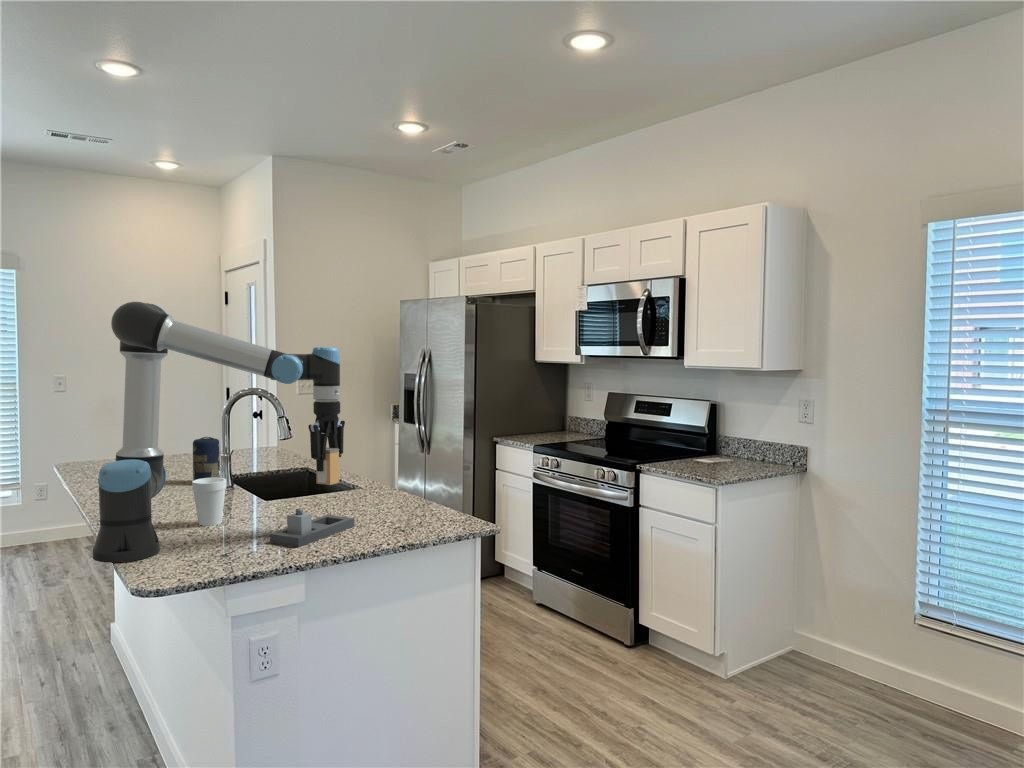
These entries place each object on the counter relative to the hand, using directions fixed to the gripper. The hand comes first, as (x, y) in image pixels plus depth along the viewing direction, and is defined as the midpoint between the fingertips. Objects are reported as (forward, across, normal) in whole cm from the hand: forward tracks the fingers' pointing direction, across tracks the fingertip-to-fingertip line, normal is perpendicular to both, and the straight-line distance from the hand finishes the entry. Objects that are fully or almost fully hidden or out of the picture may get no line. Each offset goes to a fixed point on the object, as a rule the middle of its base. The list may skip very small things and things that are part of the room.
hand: (327, 480), depth 208 cm
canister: (+14, +34, +86) cm, 94 cm away
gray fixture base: (+14, -6, 0) cm, 16 cm away
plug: (+1, 0, 0) cm, 1 cm away
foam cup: (+15, -10, +36) cm, 40 cm away
